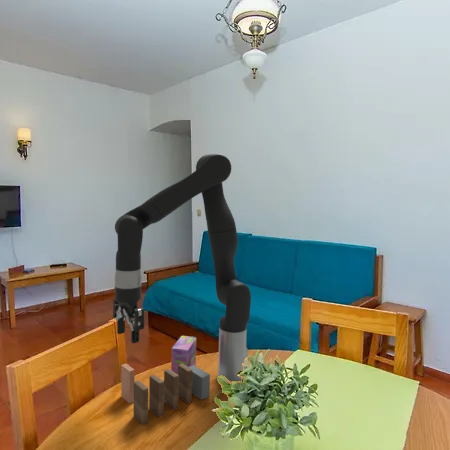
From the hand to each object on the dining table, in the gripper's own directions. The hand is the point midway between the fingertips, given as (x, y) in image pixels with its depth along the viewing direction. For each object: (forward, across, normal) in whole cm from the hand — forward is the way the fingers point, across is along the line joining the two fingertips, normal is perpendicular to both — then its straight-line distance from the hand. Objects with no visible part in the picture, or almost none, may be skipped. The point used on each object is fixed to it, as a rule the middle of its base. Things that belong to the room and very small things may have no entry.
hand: (127, 337), depth 105 cm
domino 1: (+19, -11, +2) cm, 22 cm away
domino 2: (+19, -11, -3) cm, 22 cm away
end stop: (+19, -11, -18) cm, 28 cm away
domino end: (+19, 0, 0) cm, 19 cm away
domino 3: (+19, -11, -8) cm, 23 cm away
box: (+19, 0, -21) cm, 29 cm away
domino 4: (+19, -11, -13) cm, 26 cm away
